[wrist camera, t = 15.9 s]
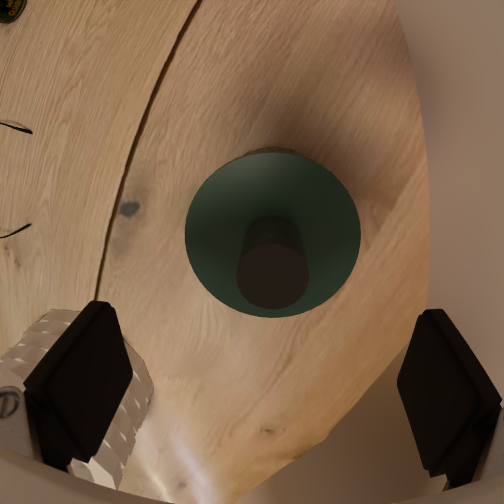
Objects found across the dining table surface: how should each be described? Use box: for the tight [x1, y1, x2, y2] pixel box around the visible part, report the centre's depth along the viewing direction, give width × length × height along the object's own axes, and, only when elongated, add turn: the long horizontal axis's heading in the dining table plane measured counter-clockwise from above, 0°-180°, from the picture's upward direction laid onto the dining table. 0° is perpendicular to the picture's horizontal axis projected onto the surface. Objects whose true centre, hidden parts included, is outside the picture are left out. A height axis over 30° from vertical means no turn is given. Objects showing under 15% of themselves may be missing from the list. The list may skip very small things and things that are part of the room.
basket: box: [0, 309, 154, 490], centre depth 36 cm, size 25×24×19 cm
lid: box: [185, 151, 361, 318], centre depth 20 cm, size 13×13×7 cm
